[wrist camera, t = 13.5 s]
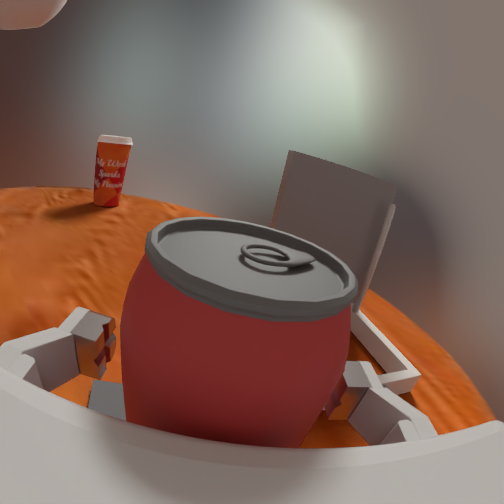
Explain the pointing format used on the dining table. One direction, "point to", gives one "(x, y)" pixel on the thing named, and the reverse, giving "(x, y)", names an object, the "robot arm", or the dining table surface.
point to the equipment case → (345, 239)
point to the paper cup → (110, 169)
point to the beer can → (234, 332)
